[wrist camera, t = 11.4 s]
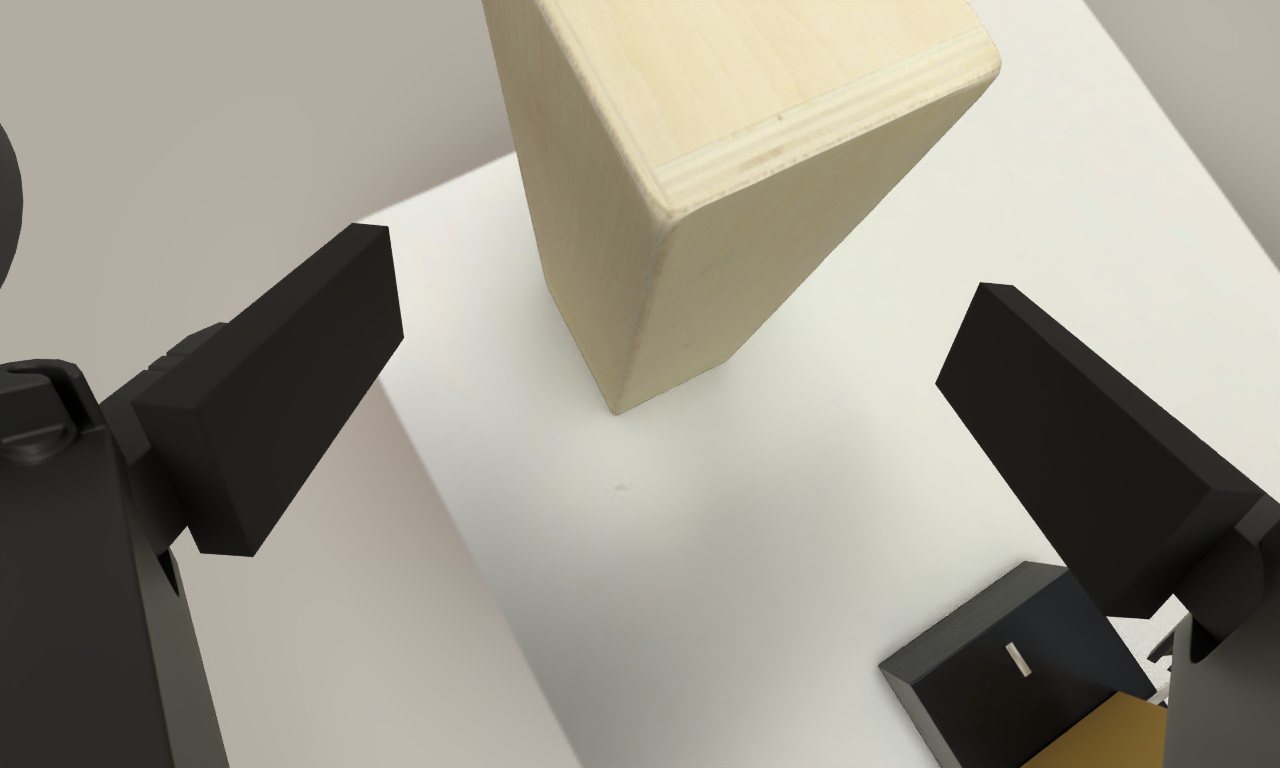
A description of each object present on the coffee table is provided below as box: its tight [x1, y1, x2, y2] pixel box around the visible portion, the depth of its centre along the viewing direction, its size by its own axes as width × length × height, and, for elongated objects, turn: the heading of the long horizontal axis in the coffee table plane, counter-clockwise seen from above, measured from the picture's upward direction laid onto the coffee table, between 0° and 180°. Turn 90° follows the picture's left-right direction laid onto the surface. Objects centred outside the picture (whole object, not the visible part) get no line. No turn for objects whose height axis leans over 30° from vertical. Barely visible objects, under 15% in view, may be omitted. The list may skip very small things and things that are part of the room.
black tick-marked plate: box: [879, 561, 1170, 768], centre depth 26 cm, size 12×10×3 cm
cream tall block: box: [482, 0, 1002, 415], centre depth 20 cm, size 8×7×21 cm
